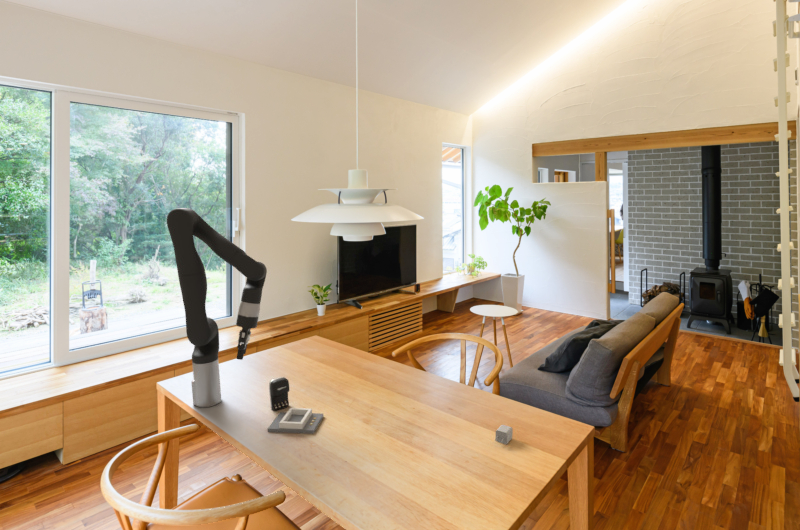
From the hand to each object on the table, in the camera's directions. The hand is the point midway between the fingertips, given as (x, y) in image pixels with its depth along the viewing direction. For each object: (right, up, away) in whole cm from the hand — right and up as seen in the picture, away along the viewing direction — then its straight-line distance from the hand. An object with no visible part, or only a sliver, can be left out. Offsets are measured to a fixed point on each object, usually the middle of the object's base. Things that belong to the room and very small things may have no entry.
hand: (241, 356), depth 169 cm
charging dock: (+24, -21, -12) cm, 34 cm away
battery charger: (+15, -20, 0) cm, 25 cm away
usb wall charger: (+93, -23, -25) cm, 99 cm away
